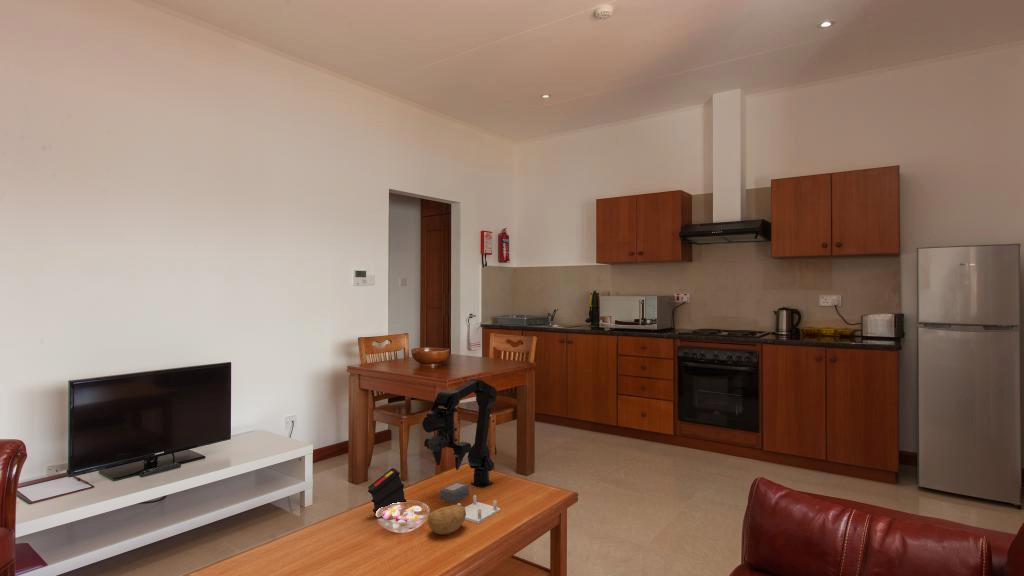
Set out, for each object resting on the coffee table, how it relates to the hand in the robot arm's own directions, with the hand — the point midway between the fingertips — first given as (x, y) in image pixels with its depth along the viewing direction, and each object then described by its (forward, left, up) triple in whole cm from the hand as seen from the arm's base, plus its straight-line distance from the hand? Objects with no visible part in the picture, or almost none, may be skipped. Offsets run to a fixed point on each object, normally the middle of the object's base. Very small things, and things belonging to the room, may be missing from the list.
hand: (447, 467), depth 197 cm
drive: (-4, 0, -13) cm, 13 cm away
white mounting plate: (+3, +16, -12) cm, 20 cm away
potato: (+20, +17, -13) cm, 29 cm away
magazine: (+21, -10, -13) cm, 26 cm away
